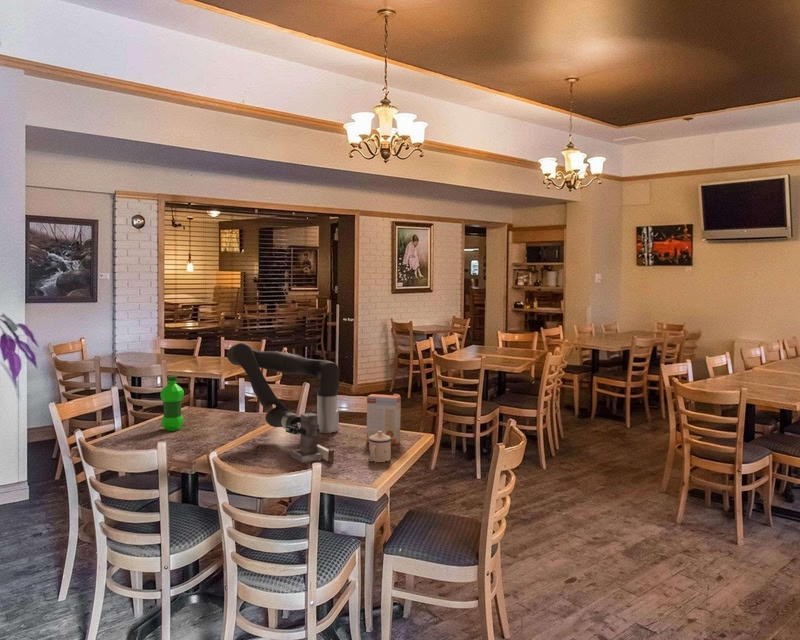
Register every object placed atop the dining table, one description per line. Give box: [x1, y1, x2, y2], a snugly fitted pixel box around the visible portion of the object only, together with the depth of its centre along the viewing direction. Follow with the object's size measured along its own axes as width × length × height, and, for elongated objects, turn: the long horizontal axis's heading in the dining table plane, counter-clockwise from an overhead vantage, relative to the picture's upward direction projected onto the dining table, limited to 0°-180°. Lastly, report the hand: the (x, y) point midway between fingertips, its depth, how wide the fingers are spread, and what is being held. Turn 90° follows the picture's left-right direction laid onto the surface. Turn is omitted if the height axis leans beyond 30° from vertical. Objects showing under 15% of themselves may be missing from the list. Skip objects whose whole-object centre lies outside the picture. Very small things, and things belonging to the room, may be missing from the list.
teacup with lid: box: [368, 431, 392, 463], centre depth 246 cm, size 12×9×12 cm
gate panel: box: [317, 443, 330, 462], centre depth 251 cm, size 18×2×4 cm, turn 35°
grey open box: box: [290, 448, 335, 464], centre depth 248 cm, size 11×21×5 cm, turn 35°
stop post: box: [299, 412, 318, 456], centre depth 248 cm, size 5×5×16 cm
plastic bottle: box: [159, 375, 185, 432], centre depth 289 cm, size 10×10×25 cm
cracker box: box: [366, 393, 402, 445], centre depth 273 cm, size 14×6×21 cm, turn 71°
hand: (312, 432), depth 246 cm, fingers closed on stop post, 5 cm apart
